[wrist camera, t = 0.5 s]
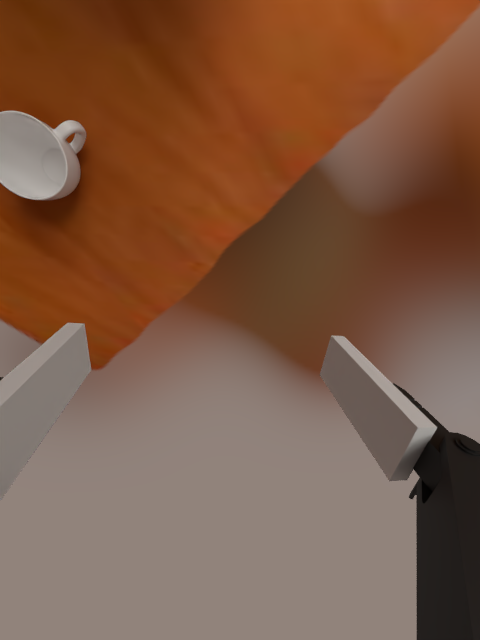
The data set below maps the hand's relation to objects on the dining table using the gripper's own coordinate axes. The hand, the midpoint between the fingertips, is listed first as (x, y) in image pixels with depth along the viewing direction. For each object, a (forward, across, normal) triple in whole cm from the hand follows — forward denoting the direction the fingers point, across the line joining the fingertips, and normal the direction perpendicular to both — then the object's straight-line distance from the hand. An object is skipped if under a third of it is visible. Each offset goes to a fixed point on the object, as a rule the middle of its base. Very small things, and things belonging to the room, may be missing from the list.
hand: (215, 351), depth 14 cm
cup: (+28, -18, +10) cm, 35 cm away
